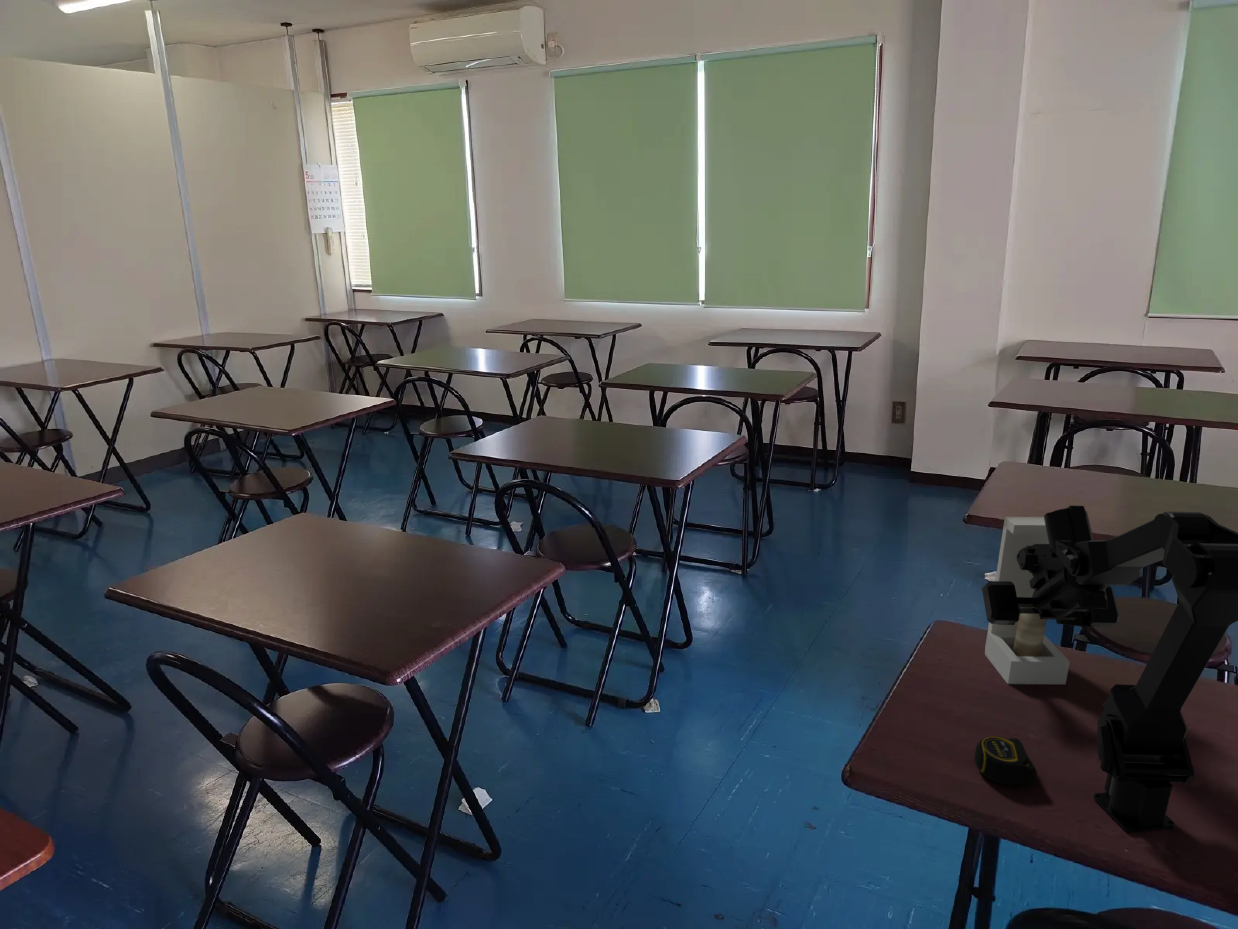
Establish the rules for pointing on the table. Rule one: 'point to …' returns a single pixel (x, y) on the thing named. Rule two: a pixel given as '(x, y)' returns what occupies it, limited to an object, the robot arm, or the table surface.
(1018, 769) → the tape measure
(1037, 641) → the peg
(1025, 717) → the table surface
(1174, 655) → the robot arm
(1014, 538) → the white holder stand
